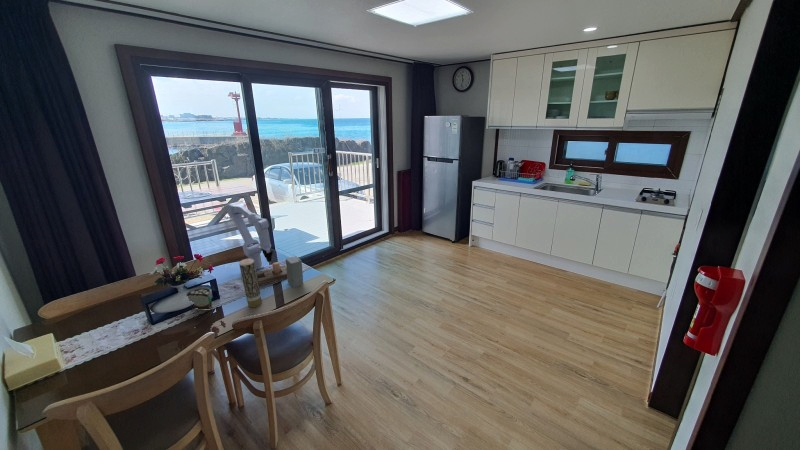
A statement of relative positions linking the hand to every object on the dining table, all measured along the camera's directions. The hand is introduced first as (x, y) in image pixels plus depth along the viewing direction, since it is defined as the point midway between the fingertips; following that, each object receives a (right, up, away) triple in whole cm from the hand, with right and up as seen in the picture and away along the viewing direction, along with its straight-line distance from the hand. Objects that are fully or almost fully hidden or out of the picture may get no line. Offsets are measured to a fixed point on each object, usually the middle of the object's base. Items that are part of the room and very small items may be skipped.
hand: (268, 259), depth 190 cm
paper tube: (+5, -21, -28) cm, 35 cm away
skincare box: (+20, -13, -9) cm, 26 cm away
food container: (-20, -22, -30) cm, 42 cm away
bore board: (+2, -11, -3) cm, 12 cm away
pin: (+6, -10, -1) cm, 12 cm away
